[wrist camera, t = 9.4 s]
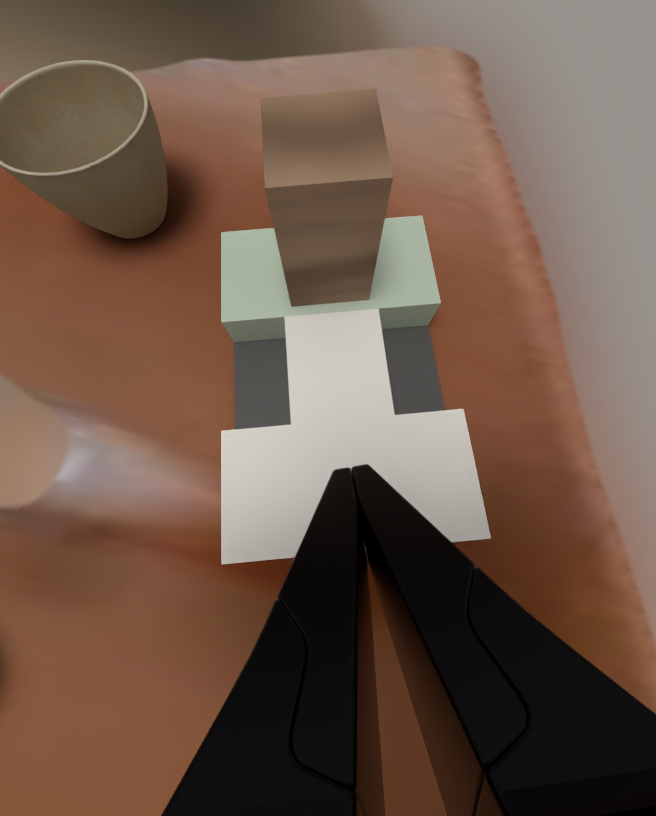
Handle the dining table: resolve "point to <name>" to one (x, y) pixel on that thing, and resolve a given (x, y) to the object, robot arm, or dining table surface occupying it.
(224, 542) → the board
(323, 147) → the walnut block
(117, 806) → the dining table surface
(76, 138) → the flower pot
